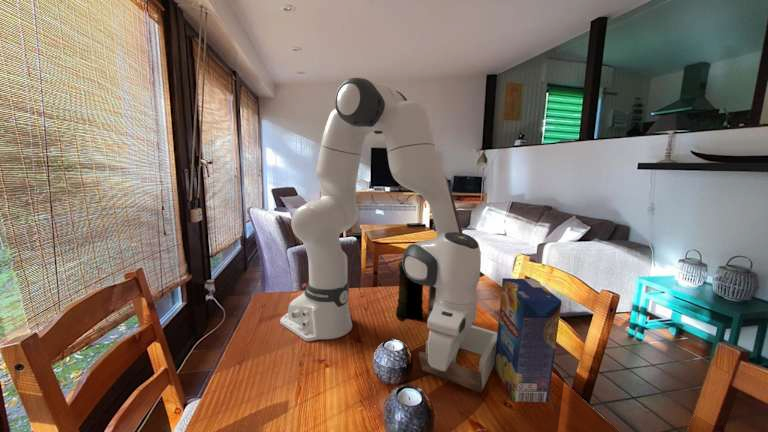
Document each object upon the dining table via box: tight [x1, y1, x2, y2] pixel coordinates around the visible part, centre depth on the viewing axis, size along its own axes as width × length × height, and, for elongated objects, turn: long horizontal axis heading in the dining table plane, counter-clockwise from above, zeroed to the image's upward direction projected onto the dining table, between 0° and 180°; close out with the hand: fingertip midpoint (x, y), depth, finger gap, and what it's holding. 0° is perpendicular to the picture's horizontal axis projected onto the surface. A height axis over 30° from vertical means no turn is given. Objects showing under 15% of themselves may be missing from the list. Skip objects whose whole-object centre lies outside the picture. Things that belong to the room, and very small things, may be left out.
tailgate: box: [417, 351, 483, 394], centre depth 75 cm, size 14×1×7 cm, turn 58°
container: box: [395, 260, 424, 322], centre depth 107 cm, size 9×9×18 cm
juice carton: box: [493, 277, 563, 403], centre depth 74 cm, size 12×8×24 cm, turn 1°
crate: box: [425, 324, 497, 390], centre depth 82 cm, size 14×14×8 cm
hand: (450, 364), depth 75 cm, fingers closed, pressing on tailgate
